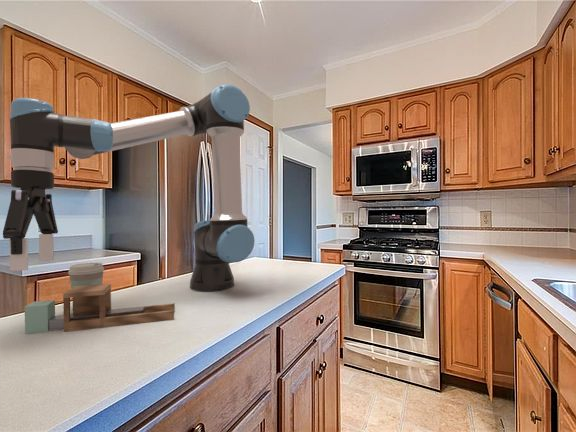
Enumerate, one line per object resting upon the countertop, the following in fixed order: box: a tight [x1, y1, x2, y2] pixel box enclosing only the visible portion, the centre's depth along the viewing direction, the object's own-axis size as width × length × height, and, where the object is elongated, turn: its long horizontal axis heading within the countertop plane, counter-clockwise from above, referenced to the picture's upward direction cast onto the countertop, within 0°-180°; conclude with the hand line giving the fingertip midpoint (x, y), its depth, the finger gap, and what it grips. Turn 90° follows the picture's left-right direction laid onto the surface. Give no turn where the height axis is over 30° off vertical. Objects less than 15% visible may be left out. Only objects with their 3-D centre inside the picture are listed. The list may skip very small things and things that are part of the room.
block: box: [24, 299, 56, 335], centre depth 71 cm, size 4×4×6 cm
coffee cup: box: [67, 262, 105, 289], centre depth 87 cm, size 8×8×12 cm
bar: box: [48, 305, 145, 332], centre depth 75 cm, size 19×3×3 cm, turn 110°
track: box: [62, 283, 176, 332], centre depth 77 cm, size 23×7×8 cm, turn 109°
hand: (34, 265), depth 71 cm, fingers open, 13 cm apart
